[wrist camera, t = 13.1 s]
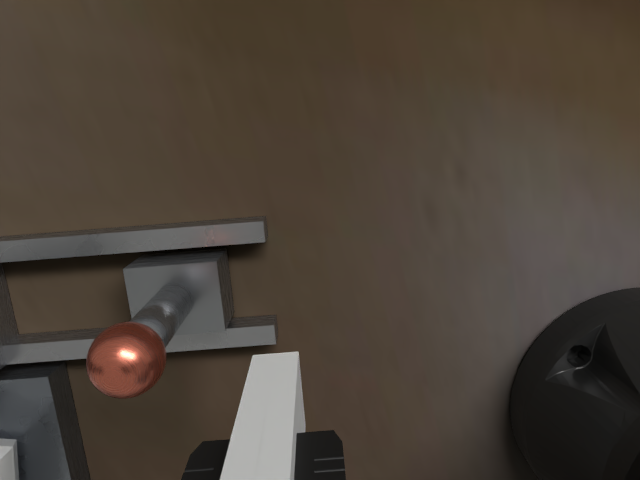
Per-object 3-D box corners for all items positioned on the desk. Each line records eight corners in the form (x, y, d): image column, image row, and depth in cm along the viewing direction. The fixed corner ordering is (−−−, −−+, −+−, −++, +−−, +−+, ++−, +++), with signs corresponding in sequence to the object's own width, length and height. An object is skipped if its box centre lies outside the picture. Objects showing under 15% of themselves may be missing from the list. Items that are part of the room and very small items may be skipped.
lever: (226, 248, 29) (170, 323, 17) (234, 311, 29) (186, 420, 18) (142, 254, 29) (34, 333, 18) (152, 317, 29) (56, 430, 18)
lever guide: (265, 216, 28) (260, 226, 25) (278, 332, 30) (274, 355, 27) (-25, 238, 28) (-64, 251, 26) (3, 353, 30) (-30, 377, 27)
